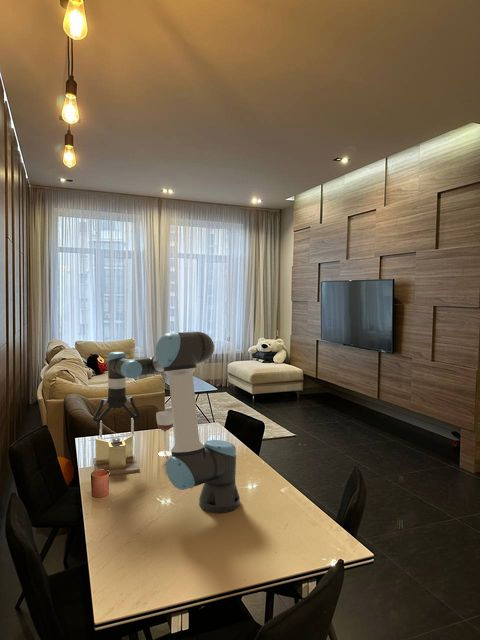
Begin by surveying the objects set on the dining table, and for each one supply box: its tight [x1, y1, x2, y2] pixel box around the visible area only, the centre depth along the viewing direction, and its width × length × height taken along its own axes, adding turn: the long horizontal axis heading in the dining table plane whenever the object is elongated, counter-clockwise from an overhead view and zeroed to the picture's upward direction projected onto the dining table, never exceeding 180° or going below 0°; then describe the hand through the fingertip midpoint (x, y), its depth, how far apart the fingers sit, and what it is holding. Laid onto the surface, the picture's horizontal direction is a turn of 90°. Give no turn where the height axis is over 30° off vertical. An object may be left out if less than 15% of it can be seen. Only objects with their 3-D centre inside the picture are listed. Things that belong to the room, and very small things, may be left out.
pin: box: [111, 437, 121, 446], centre depth 197 cm, size 3×3×12 cm
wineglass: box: [155, 410, 173, 457], centre depth 216 cm, size 8×9×20 cm
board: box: [93, 454, 141, 476], centre depth 200 cm, size 20×18×1 cm
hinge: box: [95, 434, 134, 469], centre depth 200 cm, size 13×17×10 cm
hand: (116, 434), depth 196 cm, fingers open, 13 cm apart
